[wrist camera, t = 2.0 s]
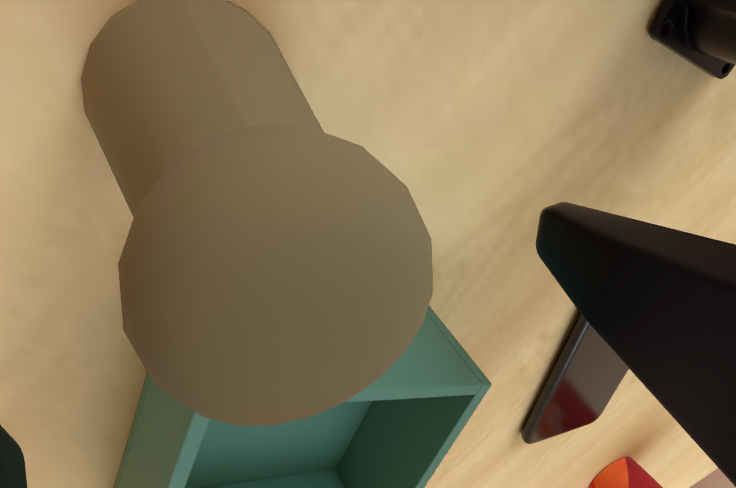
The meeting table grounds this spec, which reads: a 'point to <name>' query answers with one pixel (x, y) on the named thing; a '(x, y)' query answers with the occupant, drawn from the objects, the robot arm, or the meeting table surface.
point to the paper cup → (624, 476)
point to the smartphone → (576, 386)
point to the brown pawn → (247, 221)
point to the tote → (318, 431)
